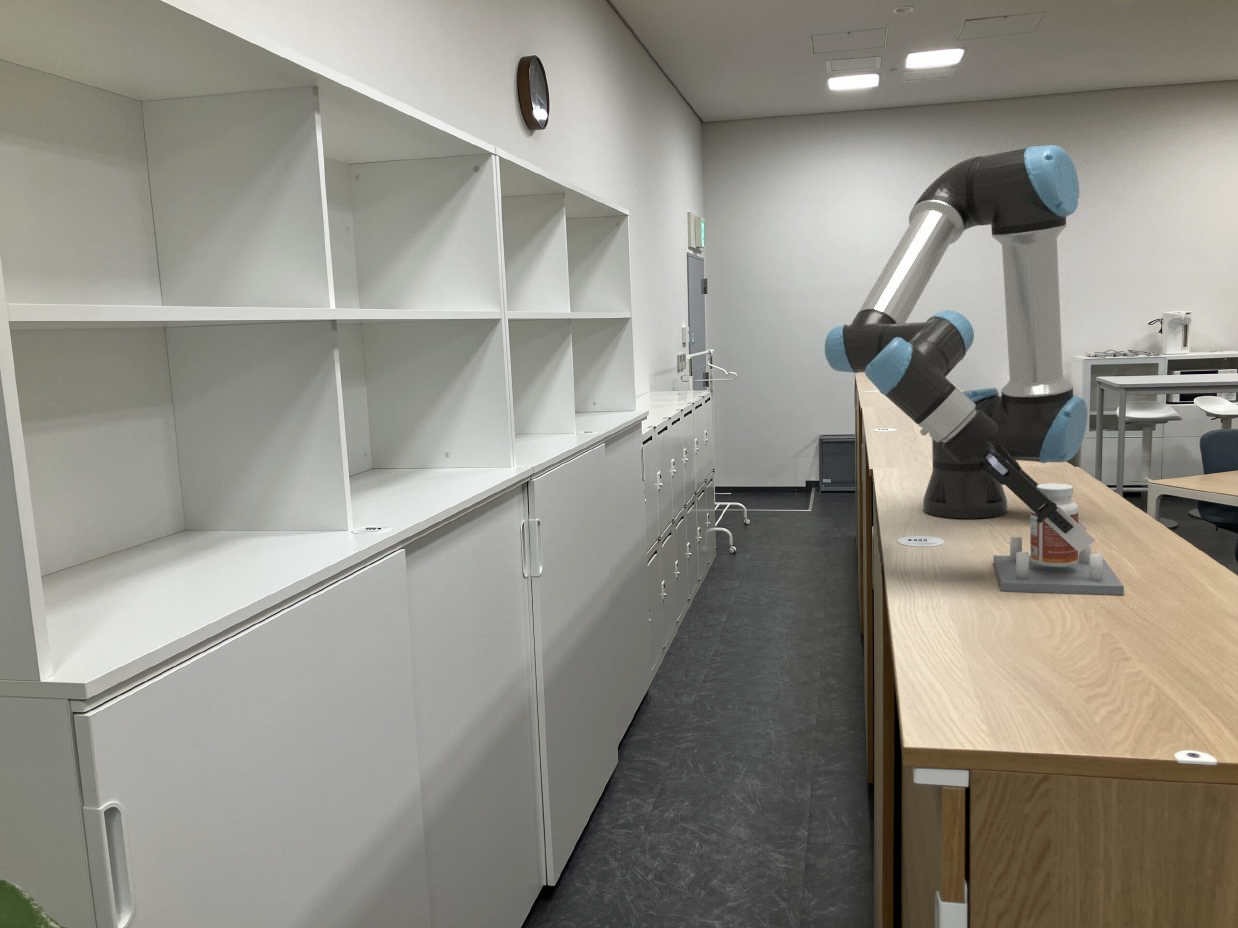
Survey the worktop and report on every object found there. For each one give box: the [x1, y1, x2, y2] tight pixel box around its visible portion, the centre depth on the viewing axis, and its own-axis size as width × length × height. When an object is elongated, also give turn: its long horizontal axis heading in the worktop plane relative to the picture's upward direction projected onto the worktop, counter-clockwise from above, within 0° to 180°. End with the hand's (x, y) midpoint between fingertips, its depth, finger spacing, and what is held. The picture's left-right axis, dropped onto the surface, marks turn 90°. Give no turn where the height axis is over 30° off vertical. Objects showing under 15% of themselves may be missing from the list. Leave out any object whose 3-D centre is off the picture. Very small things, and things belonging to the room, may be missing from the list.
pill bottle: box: [1029, 482, 1079, 567], centre depth 131 cm, size 6×6×11 cm
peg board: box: [993, 536, 1125, 596], centre depth 132 cm, size 15×15×5 cm
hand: (1082, 539), depth 131 cm, fingers closed on pill bottle, 6 cm apart
